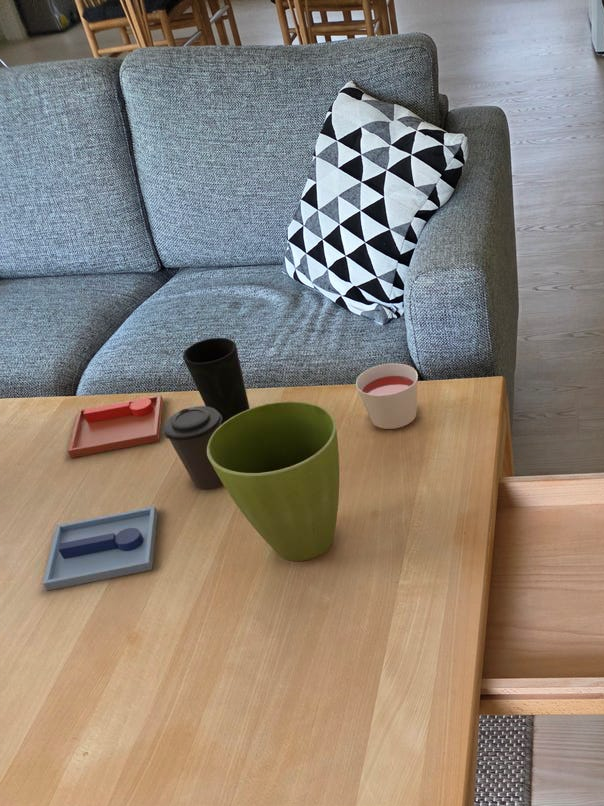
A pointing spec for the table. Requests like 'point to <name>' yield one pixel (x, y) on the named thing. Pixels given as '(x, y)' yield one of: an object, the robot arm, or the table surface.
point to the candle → (389, 394)
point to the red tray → (115, 431)
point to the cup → (218, 375)
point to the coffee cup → (195, 442)
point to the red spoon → (119, 410)
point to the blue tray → (105, 561)
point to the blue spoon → (102, 543)
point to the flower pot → (282, 474)
